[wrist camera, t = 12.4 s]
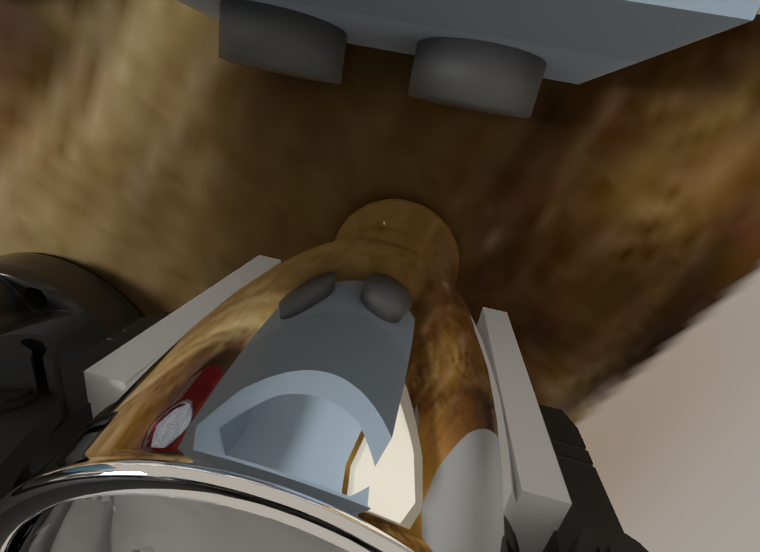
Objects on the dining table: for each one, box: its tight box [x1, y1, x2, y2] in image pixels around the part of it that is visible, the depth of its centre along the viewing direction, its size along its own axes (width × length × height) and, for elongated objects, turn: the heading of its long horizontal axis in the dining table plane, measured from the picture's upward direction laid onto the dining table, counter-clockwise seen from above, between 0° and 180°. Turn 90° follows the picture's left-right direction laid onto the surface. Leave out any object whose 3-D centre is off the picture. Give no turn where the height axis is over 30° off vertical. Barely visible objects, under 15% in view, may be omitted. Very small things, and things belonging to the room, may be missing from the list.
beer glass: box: [0, 199, 521, 552], centre depth 11 cm, size 7×7×15 cm
